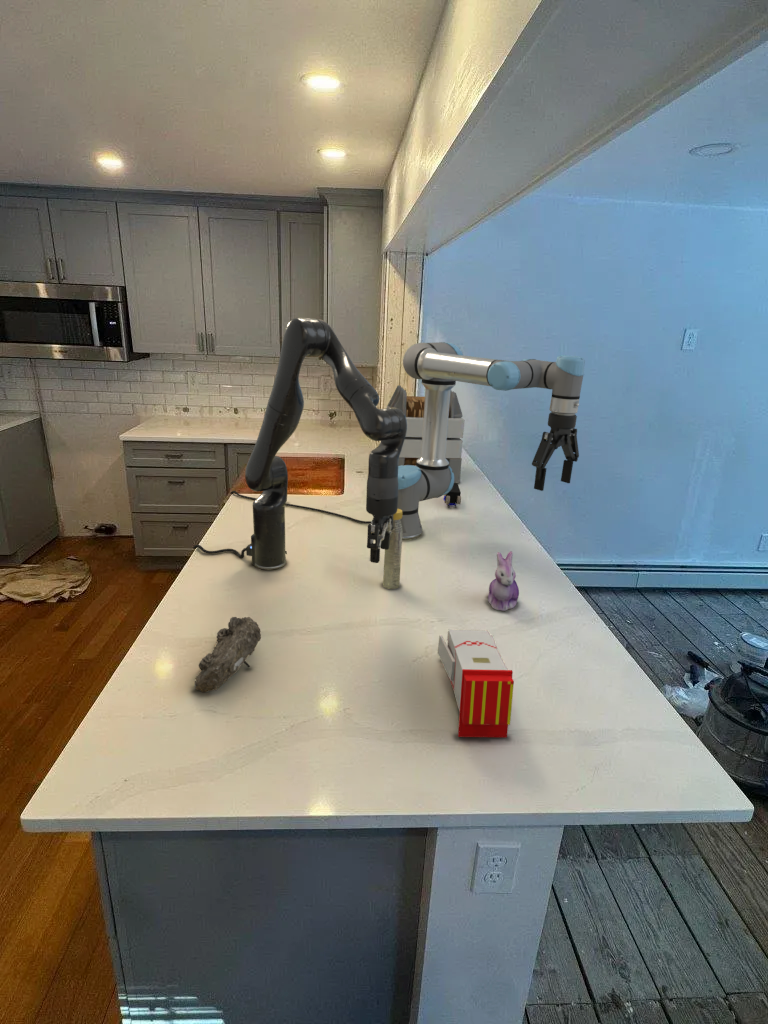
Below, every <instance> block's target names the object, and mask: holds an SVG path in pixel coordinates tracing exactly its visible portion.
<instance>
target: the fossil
mask: <svg viewBox="0 0 768 1024" xmlns="http://www.w3.org/2000/svg"><path fill="white" fill-rule="evenodd" d="M227 627H228V628H227ZM227 627H224V628H220V629H219V630H218V631H217V633H216V644H215V646H214V647H213V649H212V652H210V653H207V654H206V655H205V656H203V657H202V658H201V660H200V661H199V663H198V668H199V670H200V672H199V673H198V674H197V676H195V678H194V679H195V680H194V685H195V690H196V691H200V692H201V693H207V692H211V691H217V690H218V689H220V688H221V686H223V685H224V684H225V683H226V682H228V680H229V679H230V678H231V677H232V676H233V675H235V674H236V673H238V671H239V669H240V667H241V666H242V665H243V664H244V665H245V667H247V668H250V667H251V665H250V663H248V662H247V661H246V660H247V659H248V657H249V656H251V655H253V653H254V652H255V650H256V647H257V646H258V643H259V642H260V641H261V638H262V634H261V630H262V629H261V628H260V626H259V624H258V622H257V621H255V620H254V619H253V618H251V617H250V616H247V617H246V616H245V617H242V618H241V617H237V616H232V617H231V618H229V621H228V624H227Z"/></svg>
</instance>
